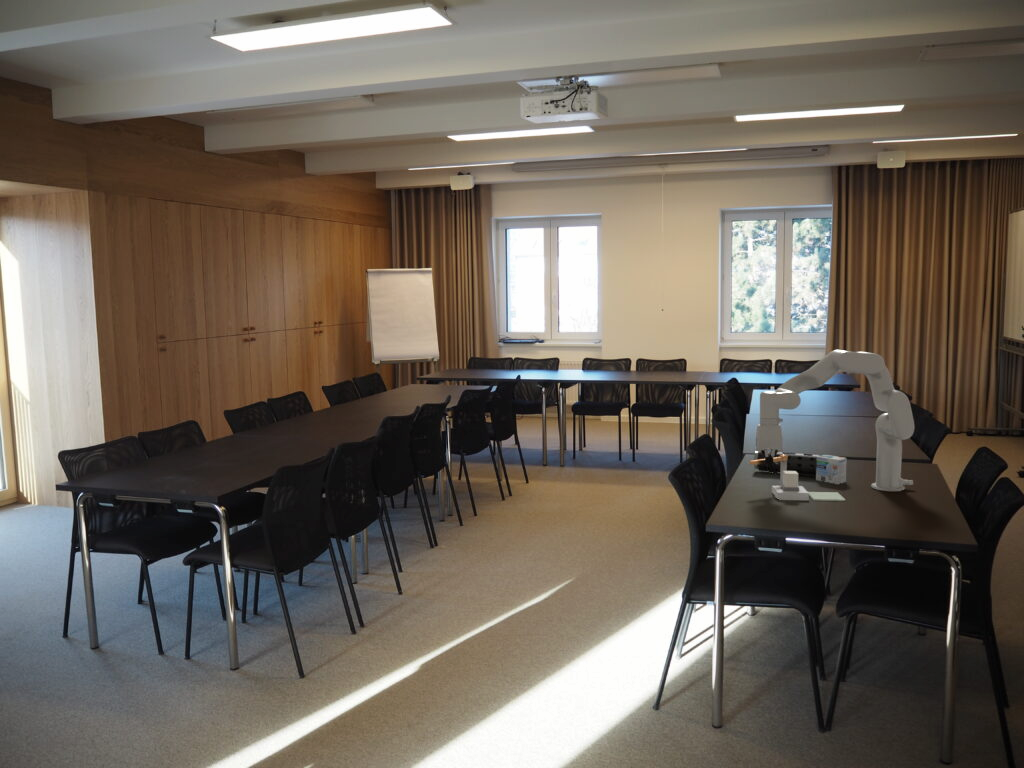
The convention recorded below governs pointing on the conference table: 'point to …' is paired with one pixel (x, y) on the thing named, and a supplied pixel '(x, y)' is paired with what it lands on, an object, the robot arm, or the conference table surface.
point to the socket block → (788, 495)
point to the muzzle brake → (790, 463)
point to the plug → (790, 481)
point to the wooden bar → (776, 459)
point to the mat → (826, 496)
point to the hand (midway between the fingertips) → (769, 465)
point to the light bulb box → (831, 469)
